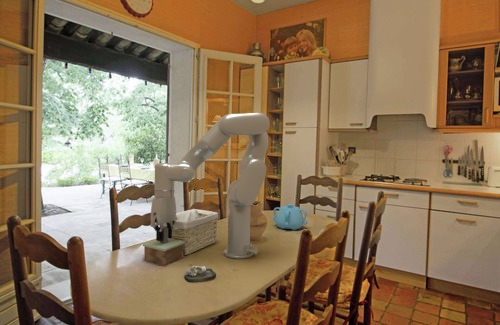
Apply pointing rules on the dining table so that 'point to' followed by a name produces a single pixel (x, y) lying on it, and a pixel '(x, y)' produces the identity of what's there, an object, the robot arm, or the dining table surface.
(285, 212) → the decorative pot
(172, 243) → the lid
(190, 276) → the grey oval ornament
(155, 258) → the box
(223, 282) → the dining table surface
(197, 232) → the storage basket
